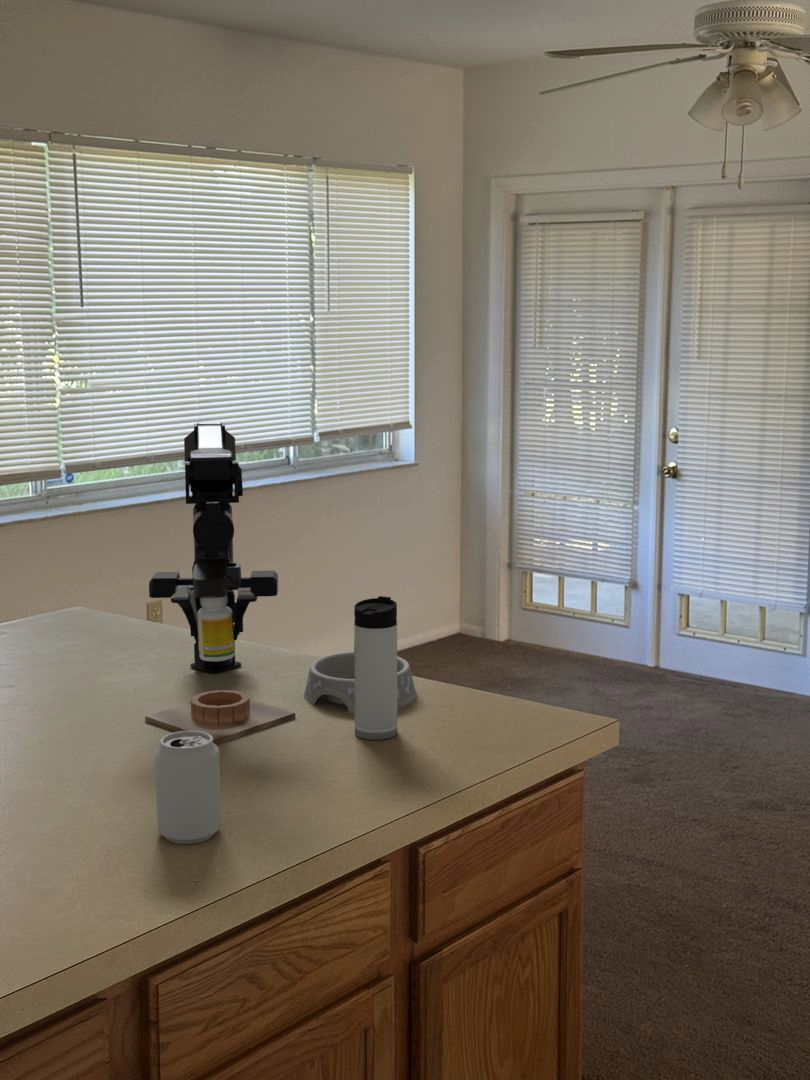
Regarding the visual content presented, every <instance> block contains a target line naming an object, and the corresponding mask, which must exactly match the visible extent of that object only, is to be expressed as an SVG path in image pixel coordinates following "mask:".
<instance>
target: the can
mask: <svg viewBox="0 0 810 1080" xmlns="http://www.w3.org/2000/svg"><path fill="white" fill-rule="evenodd" d="M212 741H213V736H211V735H210V734H208V733H205V732H201V731H179V732H175V731H173V732H171V733H167V734H166V735H164V736H163V737H161V738H160V740H159V747H158V748H157V749H156V750H155V751H154V762H155V763H154V765H155V767H154V768H155V789H156V792H155V793H156V794H155V796H156V816H157V817H156V819H157V820H156V821H157V832H158V833H159V835H161V836H163V837H164V838H165V839H166V840H167V841H170V842H171V843H175V844H181V845H183V844H184V845H185V844H187V845H189V844H197V843H201V842H204V841H207V840H209V839H211V838H212V837H213V836H214V835H215V833H217V832H218V831H219V830H220V828H221V826H222V813H221V812H222V809H221V808H222V807H221V805H222V804H221V775H220V772H221V771H220V769H221V768H220V767H221V766H220V749H219V747H218V746H217V745H215V744H214V743H213V742H212Z"/></svg>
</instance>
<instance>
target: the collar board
mask: <svg viewBox="0 0 810 1080" xmlns="http://www.w3.org/2000/svg"><path fill="white" fill-rule="evenodd" d="M144 717H145V718H144V719H145V722H146V723H149V724H153V725H156V726H158V727H161V728H164V729H167V730H170V731H173V732H179V731H201V732H205V733H208V734H210V735H211V736H213V741H212V742H213V743H214V744H215V745H216V746H217V745H219V744H222V743H225V742H229V741H232V740H235V739H237V738H241V737H244V736H247V735H249V734H252V733H254V732H258V731H260V730H261V731H262V730H263V729H267V728H270V727H272V726H275V725H279V724H282V723H284V722H287V721H291V720H293V719H295V718H296V712H295V711H290V710H287V709H285V708H282V707H281V708H280V707H278V706H275V705H271V704H267V703H263V702H261V701H257V700H254V699H251V698H250V696H249V695H248V694H247V693H246V692H241V691H238V690H234V689H233V690H230V689H216V690H209V691H204V692H200V693H198V694H195V695H194V696H192V697H191V698H190V702H188V703H184V704H181V705H177V706H175V707H171V708H168V709H167V708H166V709H163V710H161V711H157V712H155V713H151V714H148V715H146V716H144Z"/></svg>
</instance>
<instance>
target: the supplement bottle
mask: <svg viewBox="0 0 810 1080" xmlns="http://www.w3.org/2000/svg"><path fill="white" fill-rule="evenodd" d="M227 602H228V599H227V595H226V596H225V597H222V598H217V597H204V598H200V604H201V606H202V608H201V609H200V610H199V611H198V612H197V629H198V645H199V656H200V658H201V659H202V660H204V661H224V660H228V659H231V658H232V657H233V656H234V655H235V656H236V645H235V644H236V642H235V643H234V627H233V625H234V623H233V612H232V610H231V609H230V608H229V607H227V606H226V604H227Z"/></svg>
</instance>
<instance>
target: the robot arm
mask: <svg viewBox="0 0 810 1080" xmlns="http://www.w3.org/2000/svg"><path fill="white" fill-rule="evenodd" d="M183 447H184V449H183V451H184V454H183V455H184V474H185V475H184V476H185V479H184V480H185V481H184V482H185V504H186V505H187V504H188V505H193V507H192V518H193V519H192V534H193V551H194V557H193V558H194V561H193V564H192V568H191V573H192V574H191V575H192V577H181V575H180V571H157V572H155V573H154V574H153V575H152V577H151V579H150V580H149V581H148V594H149V595H148V597H149V598H151V599H170V602H171V603H173V604H177V605H178V606H179V607H180V608H181V610H182V612H183V613H184V615H185V617H186V620H187V623H188V625H189V628H190V637H193V639H194V640H195V642H194V644H193V651H194V653H193V654H194V655H193V657H194V662H192V663H190V665H189V666H190V667H191V668H193V669H197V670H199V671H203V672H207V673H210V674H217V673H221V672H224V671H227V670H228V671H229V670H231V669H235V668H238V667H241V666H242V662H240V661H236V654H235V655H234V656H233V657H232V658H231V659H228V660H224V661H204V660H202V659H201V658H200V656H199V645H198V629H197V612H198V611H199V610H200V609H201V608H202V606H201V604H200V598H204V597H217V598H222V597H225V596H226V595H227V599H228V602H227V604H226V606H227V607H229V608H230V609H231V610H232V612H233V627H234V643H235V644H236V641H237V640H238V637H239V635H240V634H241V633H243V632H244V616H245V613H246V611H247V609H248V607H249V605H250V603H255V602H257V601H258V597H259V598H260V597H275V596H276V597H277V596H278V592H279V574H278V573H277V572H276V571H275V570H252V571H251V572H250V573H251V574H250V576H243V577H242V567H241V562H239V561H237V562H236V561H235V562H234V535H235V534H234V533H235V528H234V520H233V506H232V505H231V503H232V504H233V503H234V504H239V503H240V497H243V494H244V493H243V491H244V489H243V471H242V467H241V466H240V465H239V464H240V463H239V462H238V460H237V453H236V437H235V436H234V435H232V434H231V433H230V432H229V431H227V430H226V423H224V422H223V423H222V422H221V421H198V422H197V423H194V424H193V431H191V432H190V433H188V435H186V436H185V437H184V439H183ZM233 491H234V495H233ZM190 493H191V495H192V496H190ZM235 591H237V592H238V593H237V597H236V595H235ZM235 598H236V599H235Z"/></svg>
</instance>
